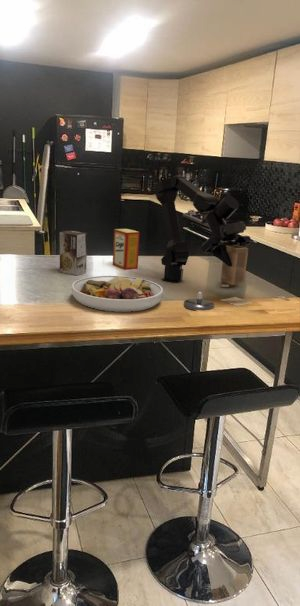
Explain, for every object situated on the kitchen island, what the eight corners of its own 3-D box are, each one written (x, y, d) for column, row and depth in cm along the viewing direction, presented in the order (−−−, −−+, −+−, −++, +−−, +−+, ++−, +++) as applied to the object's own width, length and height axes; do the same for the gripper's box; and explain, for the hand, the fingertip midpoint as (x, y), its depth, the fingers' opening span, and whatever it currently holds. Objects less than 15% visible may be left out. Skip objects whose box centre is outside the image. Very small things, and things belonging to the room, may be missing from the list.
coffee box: (86, 273, 197) (88, 232, 193) (76, 275, 192) (77, 234, 187) (69, 269, 202) (70, 229, 197) (58, 271, 197) (59, 231, 192)
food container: (236, 291, 185) (239, 265, 182) (220, 289, 186) (223, 263, 184) (237, 283, 197) (240, 259, 194) (222, 281, 198) (225, 257, 195)
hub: (179, 308, 160) (181, 293, 159) (188, 300, 169) (190, 286, 168) (209, 313, 157) (211, 298, 155) (217, 305, 166) (218, 291, 164)
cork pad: (219, 301, 171) (219, 299, 171) (235, 298, 176) (235, 296, 176) (237, 307, 165) (237, 306, 165) (252, 304, 170) (252, 302, 170)
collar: (220, 280, 169) (224, 245, 165) (232, 279, 172) (236, 245, 168) (232, 284, 165) (236, 249, 161) (244, 283, 168) (248, 248, 164)
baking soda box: (112, 265, 214) (114, 228, 210) (125, 263, 218) (126, 227, 213) (125, 269, 207) (126, 231, 202) (137, 268, 211) (139, 231, 206)
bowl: (61, 291, 172) (62, 269, 169) (141, 287, 184) (142, 266, 181) (86, 318, 146) (86, 293, 143) (177, 311, 157) (179, 288, 155)
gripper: (211, 213, 159) (231, 253, 154) (251, 212, 170) (271, 250, 165) (193, 233, 168) (211, 272, 162) (232, 231, 178) (250, 268, 173)
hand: (237, 265), depth 165 cm, fingers closed on collar, 6 cm apart
